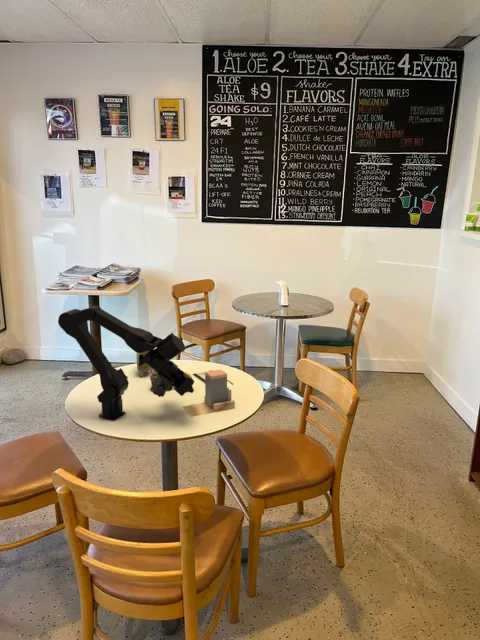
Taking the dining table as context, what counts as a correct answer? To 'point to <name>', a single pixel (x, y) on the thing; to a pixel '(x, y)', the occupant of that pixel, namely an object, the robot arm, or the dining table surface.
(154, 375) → the cupcake
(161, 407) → the dining table surface
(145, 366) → the alarm clock
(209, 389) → the plug block
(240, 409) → the dining table surface
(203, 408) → the wooden stand
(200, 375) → the chocolate bar
